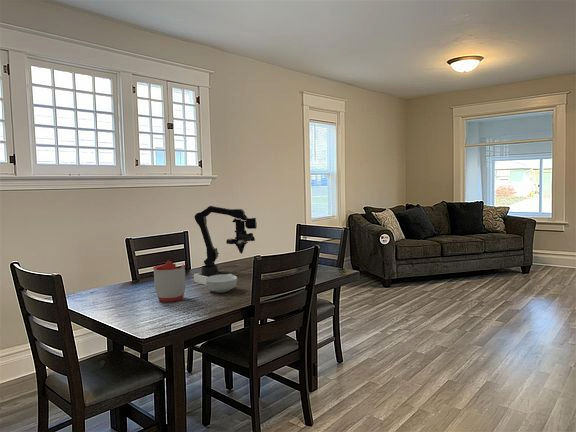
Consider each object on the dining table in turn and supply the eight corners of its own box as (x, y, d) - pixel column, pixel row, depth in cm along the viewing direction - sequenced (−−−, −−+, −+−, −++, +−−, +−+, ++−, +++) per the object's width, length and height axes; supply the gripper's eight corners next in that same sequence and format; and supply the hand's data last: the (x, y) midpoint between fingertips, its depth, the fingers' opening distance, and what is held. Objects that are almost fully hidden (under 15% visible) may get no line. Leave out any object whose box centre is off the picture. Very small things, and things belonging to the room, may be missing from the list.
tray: (194, 281, 266) (193, 273, 266) (214, 277, 276) (214, 269, 275) (211, 286, 253) (210, 278, 252) (232, 281, 263) (231, 273, 262)
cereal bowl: (199, 293, 239) (198, 280, 238) (218, 285, 253) (217, 273, 253) (225, 296, 231) (224, 282, 230) (243, 288, 245) (243, 275, 245)
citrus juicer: (195, 296, 232) (193, 258, 230) (171, 305, 217) (168, 264, 216) (173, 293, 240) (171, 256, 238) (148, 301, 225) (145, 262, 224)
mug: (215, 284, 257) (214, 268, 257) (198, 282, 263) (197, 267, 262) (225, 280, 266) (224, 265, 265) (208, 279, 271) (207, 264, 270)
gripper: (236, 231, 273) (237, 257, 274) (259, 228, 286) (260, 252, 287) (225, 230, 281) (226, 255, 282) (248, 227, 294) (249, 250, 295)
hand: (241, 253), depth 287 cm, fingers closed
